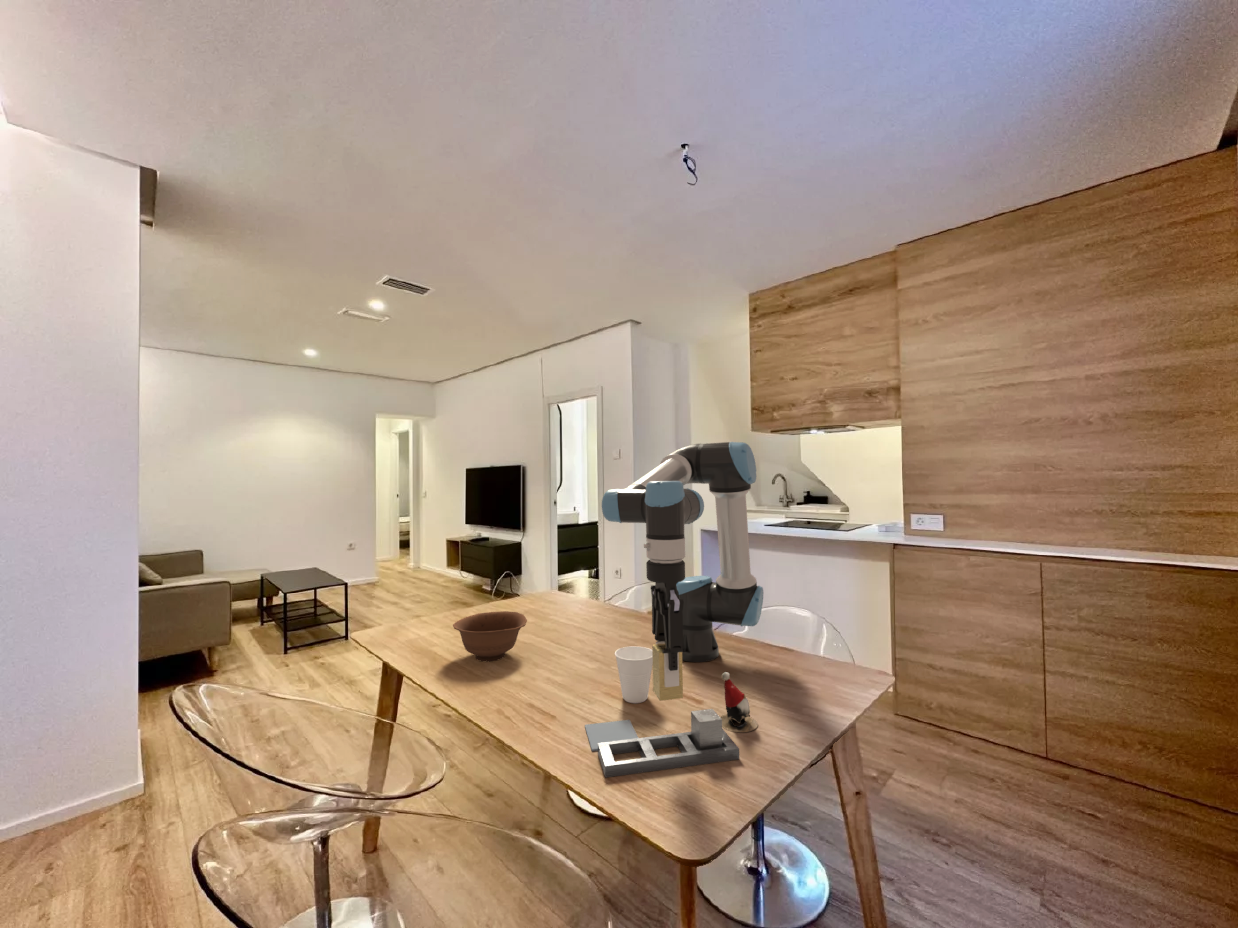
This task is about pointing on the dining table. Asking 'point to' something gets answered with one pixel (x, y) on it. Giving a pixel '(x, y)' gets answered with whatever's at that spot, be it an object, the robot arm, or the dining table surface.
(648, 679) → the cup
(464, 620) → the bowl
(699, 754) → the grey block holder tray
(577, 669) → the dining table surface
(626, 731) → the mat
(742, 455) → the robot arm
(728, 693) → the figurine
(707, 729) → the block
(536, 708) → the dining table surface
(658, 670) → the block
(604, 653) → the dining table surface
